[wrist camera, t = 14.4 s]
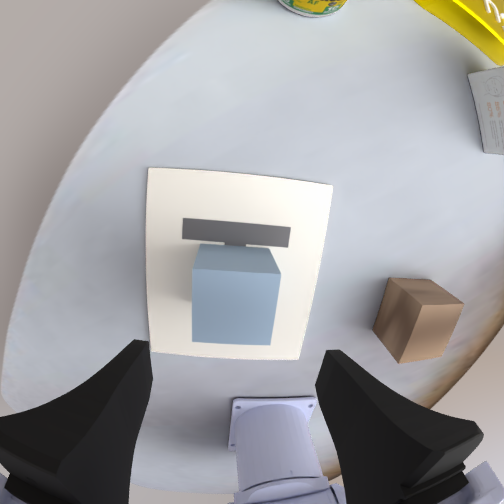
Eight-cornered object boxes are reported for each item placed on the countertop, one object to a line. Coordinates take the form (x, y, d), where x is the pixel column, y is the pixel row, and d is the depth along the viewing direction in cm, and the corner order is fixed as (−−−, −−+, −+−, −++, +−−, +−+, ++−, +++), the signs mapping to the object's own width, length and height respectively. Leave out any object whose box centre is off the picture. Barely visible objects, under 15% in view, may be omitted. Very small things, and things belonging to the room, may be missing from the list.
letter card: (297, 356, 22) (298, 360, 22) (152, 348, 21) (151, 351, 20) (331, 185, 18) (333, 185, 18) (150, 167, 17) (148, 167, 16)
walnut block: (413, 327, 23) (441, 356, 18) (371, 329, 22) (398, 363, 18) (430, 279, 21) (464, 303, 17) (388, 277, 21) (422, 305, 16)
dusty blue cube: (261, 308, 20) (270, 345, 16) (198, 304, 19) (191, 341, 15) (269, 248, 19) (281, 274, 14) (200, 243, 18) (192, 268, 14)
